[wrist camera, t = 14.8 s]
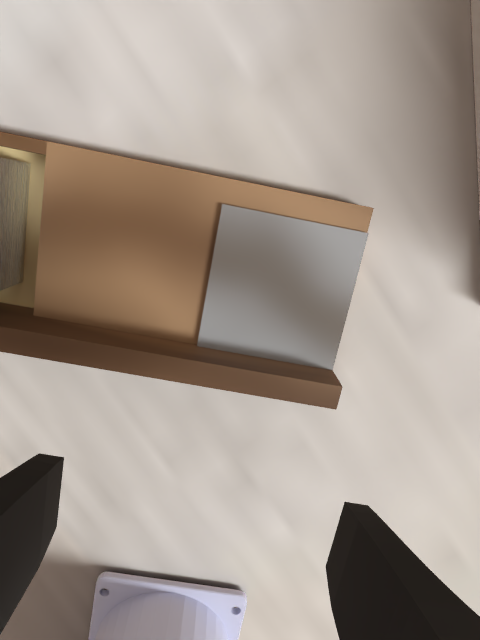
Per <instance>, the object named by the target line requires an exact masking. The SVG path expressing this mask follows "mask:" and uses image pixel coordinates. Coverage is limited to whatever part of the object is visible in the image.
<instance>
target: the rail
mask: <svg viewBox="0 0 480 640" xmlns="http://www.w3.org/2000/svg"><path fill="white" fill-rule="evenodd" d="M0 157H1V158H6V159H11V160H16V161H21V162H26V163H31V167H30V181H29V196H28V210H27V224H26V238H25V252H24V267H23V281H22V283H19V284H17V285H14V286H11V287H9V288H6V289H3V290H1V291H0V352H6V353H12V354H18V355H23V356H29V357H35V358H41V359H47V360H52V361H58V362H64V363H70V364H76V365H81V366H87V367H93V368H99V369H105V370H110V371H116V372H122V373H128V374H134V375H139V376H145V377H151V378H157V379H163V380H168V381H174V382H180V383H186V384H192V385H197V386H203V387H209V388H215V389H221V390H226V391H232V392H238V393H244V394H250V395H255V396H261V397H267V398H273V399H279V400H285V401H290V402H296V403H302V404H308V405H314V406H319V407H325V408H331V409H337V405H338V401H339V398H340V394H341V390H342V385H341V384H340V382H339V380H338V379H337V377H336V375H335V374H334V372H333V366H334V362H335V359H336V355H337V351H338V347H339V343H340V340H341V336H342V332H343V328H344V324H345V321H346V317H347V313H348V309H349V305H350V302H351V298H352V294H353V290H354V286H355V283H356V279H357V275H358V271H359V267H360V264H361V260H362V256H363V252H364V248H365V245H366V241H367V237H368V233H367V231H368V227H369V224H370V220H371V216H372V212H373V208H370V207H366V206H361V205H356V204H351V203H346V202H341V201H336V200H331V199H327V198H322V197H317V196H312V195H307V194H302V193H297V192H292V191H288V190H283V189H278V188H273V187H268V186H263V185H258V184H253V183H249V182H244V181H239V180H234V179H229V178H224V177H219V176H214V175H210V174H205V173H200V172H195V171H190V170H185V169H180V168H175V167H171V166H166V165H161V164H156V163H151V162H146V161H141V160H136V159H132V158H127V157H122V156H117V155H112V154H107V153H102V152H97V151H93V150H88V149H83V148H78V147H73V146H68V145H63V144H58V143H53V142H49V141H44V140H39V139H34V138H29V137H24V136H19V135H14V134H10V133H5V132H0Z"/></svg>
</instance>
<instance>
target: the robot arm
mask: <svg viewBox="0 0 480 640" xmlns="http://www.w3.org/2000/svg"><path fill="white" fill-rule="evenodd" d="M63 461H64V457H58V456H51V455H45V454H38V455H36V456H34V457H33V458H31V459H29V460H28V461H26V462H25V463H23V464H22V465H20V466H18V467H17V468H15V469H14V470H12V471H11V472H9V473H7V474H6V475H4V476H3V477H1V478H0V634H1V632H2V631H3V629H4V627H5V626H6V624H7V622H8V620H9V619H10V617H11V615H12V613H13V612H14V610H15V608H16V607H17V605H18V603H19V601H20V600H21V598H22V596H23V594H24V593H25V591H26V589H27V587H28V586H29V584H30V582H31V580H32V579H33V577H34V575H35V573H36V572H37V570H38V568H39V566H40V564H41V562H42V559H43V557H44V555H45V553H46V550H47V548H48V546H49V543H50V541H51V539H52V536H53V534H54V532H55V529H56V527H57V518H58V508H59V499H60V489H61V480H62V471H63ZM326 572H327V580H328V588H329V595H330V601H331V608H332V612H333V616H334V620H335V624H336V628H337V632H338V635H339V639H340V640H480V616H478V615H477V614H476V613H475V612H474V611H473V610H472V609H471V608H469V607H468V606H467V605H466V604H465V603H464V602H463V601H462V600H461V599H460V598H459V597H458V596H457V595H456V594H454V593H453V592H452V591H451V590H450V589H449V588H448V587H447V586H446V585H445V584H444V583H443V582H442V581H441V580H440V579H439V578H438V577H437V576H436V575H435V574H434V573H433V572H432V571H431V570H430V569H429V568H428V567H427V566H426V565H425V564H424V563H423V562H422V561H421V560H420V559H419V558H418V557H417V556H416V555H415V554H414V553H413V552H412V551H411V550H410V549H409V548H408V547H407V546H406V545H405V544H404V542H403V541H402V540H401V539H400V538H399V537H398V536H397V535H396V534H395V533H394V532H393V531H392V530H391V529H390V528H389V527H388V525H387V524H386V523H385V522H384V521H383V520H382V519H381V518H380V517H379V516H378V515H377V514H376V513H375V512H374V511H373V510H372V509H371V508H370V507H369V506H368V505H361V504H355V503H349V502H345V503H344V506H343V510H342V513H341V516H340V520H339V523H338V527H337V530H336V533H335V537H334V540H333V544H332V547H331V550H330V554H329V557H328V561H327V564H326ZM104 588H105V589H108V590H104ZM246 605H247V596H246V594H245V593H244V592H243V591H240V590H234V589H227V588H220V587H213V586H206V585H199V584H192V583H185V582H178V581H171V580H164V579H157V578H150V577H143V576H136V575H129V574H122V573H115V572H103V573H101V574H100V575H99V576H98V579H97V582H96V587H95V594H94V601H93V609H92V616H91V623H90V630H89V638H88V640H238V638H239V634H240V630H241V626H242V622H243V618H244V613H245V609H246ZM233 607H238V608H233Z"/></svg>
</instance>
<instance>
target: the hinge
mask: <svg viewBox="0 0 480 640" xmlns="http://www.w3.org/2000/svg"><path fill="white" fill-rule="evenodd" d="M471 23H472V47H473V72H474V96H475V120H476V145H477V169H478V194H479V218H480V0H471Z"/></svg>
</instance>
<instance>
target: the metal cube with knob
mask: <svg viewBox="0 0 480 640" xmlns="http://www.w3.org/2000/svg"><path fill="white" fill-rule="evenodd" d="M30 167H31V163H26V162H21V161H16V160H11V159H6V158H1V157H0V291H1V290H3V289H6V288H9V287H11V286H14V285H17V284H19V283H22V281H23V267H24V252H25V238H26V224H27V210H28V196H29V181H30Z"/></svg>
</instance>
